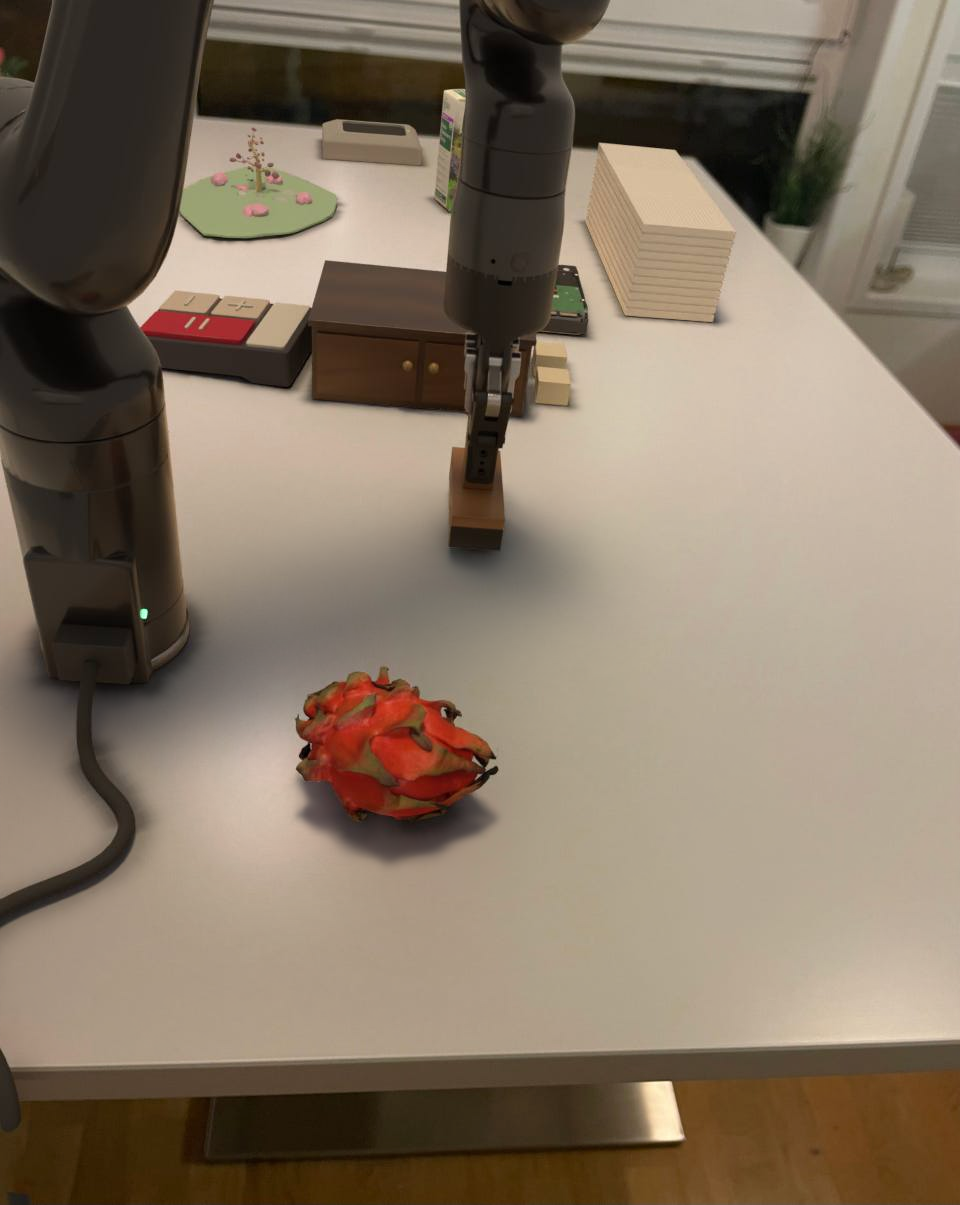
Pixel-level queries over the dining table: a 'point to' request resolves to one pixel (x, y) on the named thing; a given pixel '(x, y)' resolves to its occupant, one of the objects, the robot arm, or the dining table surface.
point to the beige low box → (371, 142)
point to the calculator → (231, 336)
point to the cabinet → (391, 340)
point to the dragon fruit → (389, 748)
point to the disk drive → (568, 304)
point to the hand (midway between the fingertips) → (478, 470)
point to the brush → (475, 506)
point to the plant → (255, 201)
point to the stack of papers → (657, 233)
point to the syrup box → (449, 146)
